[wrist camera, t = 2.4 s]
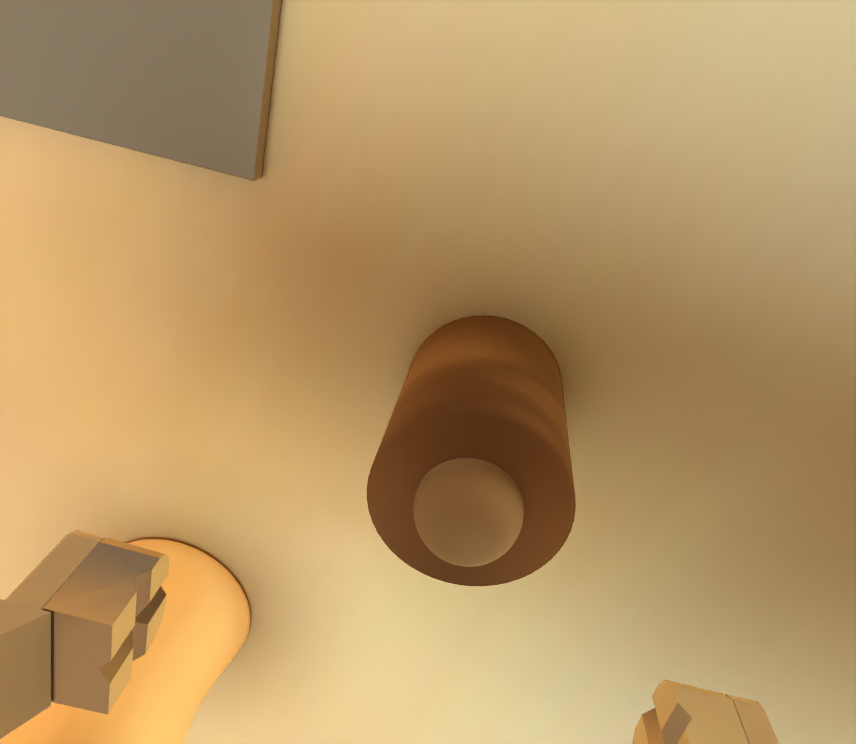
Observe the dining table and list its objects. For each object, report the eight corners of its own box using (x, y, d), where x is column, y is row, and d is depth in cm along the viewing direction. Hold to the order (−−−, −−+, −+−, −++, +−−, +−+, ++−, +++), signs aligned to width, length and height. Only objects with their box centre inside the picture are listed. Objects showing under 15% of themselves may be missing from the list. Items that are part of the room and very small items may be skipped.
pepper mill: (582, 338, 19) (613, 481, 13) (536, 469, 21) (541, 654, 14) (426, 297, 19) (374, 418, 13) (395, 432, 21) (335, 598, 15)
